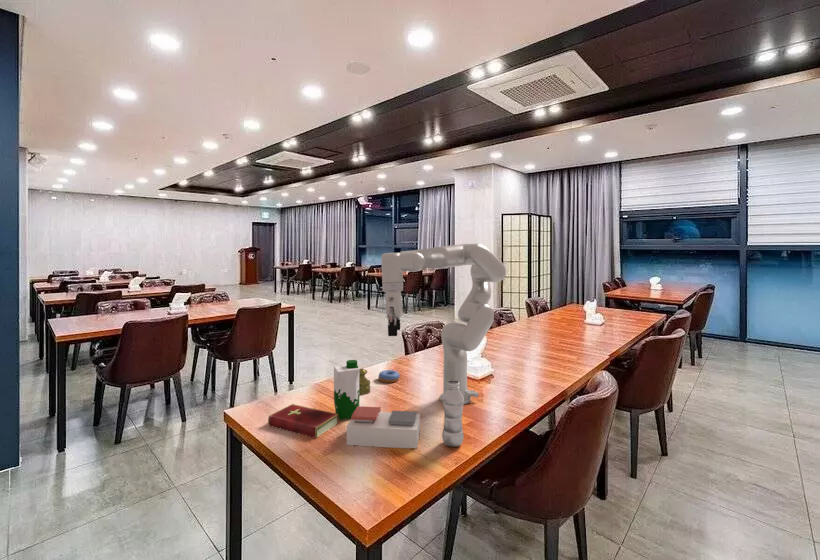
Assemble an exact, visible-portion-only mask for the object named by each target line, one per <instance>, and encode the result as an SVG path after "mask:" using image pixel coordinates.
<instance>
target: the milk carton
mask: <svg viewBox="0 0 820 560" xmlns="http://www.w3.org/2000/svg"><path fill="white" fill-rule="evenodd" d="M345 362H346V364H339V365H334V366H333V405H334V409H335V411H334V412H335V414H338V416H337V419H339V421H343V420H347V419H348V420H349V419H351V416H352V414H353V413H354V411H355V409H356V408H357V406H360V394H359V371H360V369H361V368H359V365H358V360H357V359H348V360H346V361H345Z"/></svg>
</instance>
